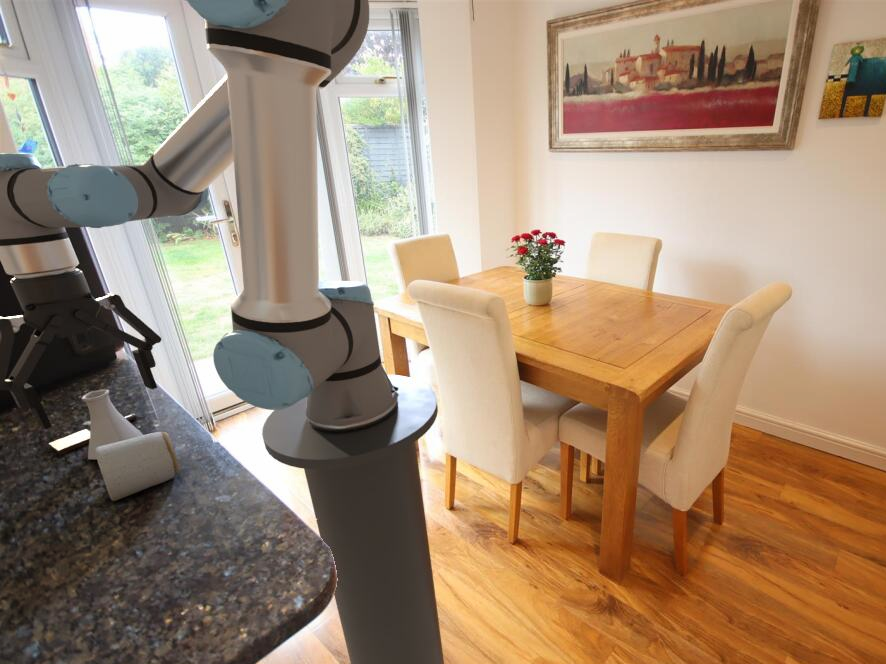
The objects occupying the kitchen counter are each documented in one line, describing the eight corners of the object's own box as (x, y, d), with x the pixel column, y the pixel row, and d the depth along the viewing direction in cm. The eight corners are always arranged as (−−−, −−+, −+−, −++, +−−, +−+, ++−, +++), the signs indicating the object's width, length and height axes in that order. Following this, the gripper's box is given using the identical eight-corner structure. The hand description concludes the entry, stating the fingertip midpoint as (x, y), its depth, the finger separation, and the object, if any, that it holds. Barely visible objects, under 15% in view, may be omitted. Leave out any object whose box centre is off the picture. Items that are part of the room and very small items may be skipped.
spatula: (131, 415, 85) (129, 409, 85) (142, 421, 83) (140, 415, 83) (50, 447, 76) (47, 441, 76) (60, 455, 74) (57, 448, 74)
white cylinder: (187, 482, 66) (171, 436, 64) (115, 511, 61) (94, 462, 58) (172, 453, 73) (157, 411, 71) (106, 478, 68) (87, 433, 65)
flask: (131, 457, 73) (109, 401, 69) (78, 465, 71) (52, 408, 68) (152, 432, 79) (133, 380, 76) (104, 439, 78) (82, 387, 74)
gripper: (136, 254, 76) (176, 370, 84) (-99, 291, 57) (-18, 438, 64) (157, 256, 73) (198, 377, 80) (-86, 297, 53) (-2, 453, 61)
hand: (102, 405), depth 72 cm, fingers open, 13 cm apart
